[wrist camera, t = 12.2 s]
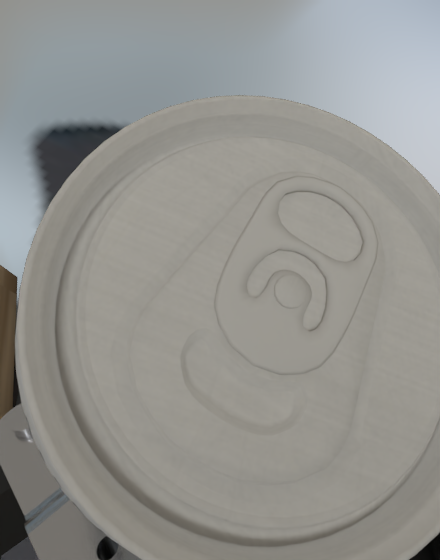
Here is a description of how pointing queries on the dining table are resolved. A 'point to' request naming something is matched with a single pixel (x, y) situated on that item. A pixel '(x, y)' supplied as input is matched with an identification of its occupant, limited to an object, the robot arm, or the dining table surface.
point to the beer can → (240, 337)
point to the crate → (7, 338)
